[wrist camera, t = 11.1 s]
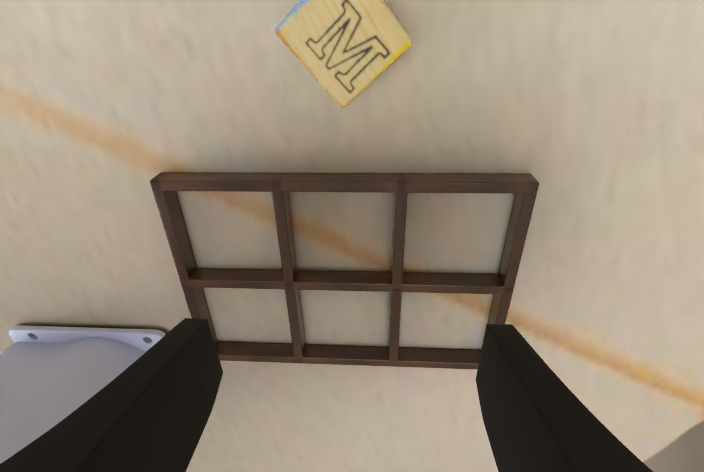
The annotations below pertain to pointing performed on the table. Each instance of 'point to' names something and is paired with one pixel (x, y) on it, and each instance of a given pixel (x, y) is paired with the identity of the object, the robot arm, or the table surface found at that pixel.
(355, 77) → the alphabet block
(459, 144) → the table surface
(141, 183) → the table surface
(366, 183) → the frame
